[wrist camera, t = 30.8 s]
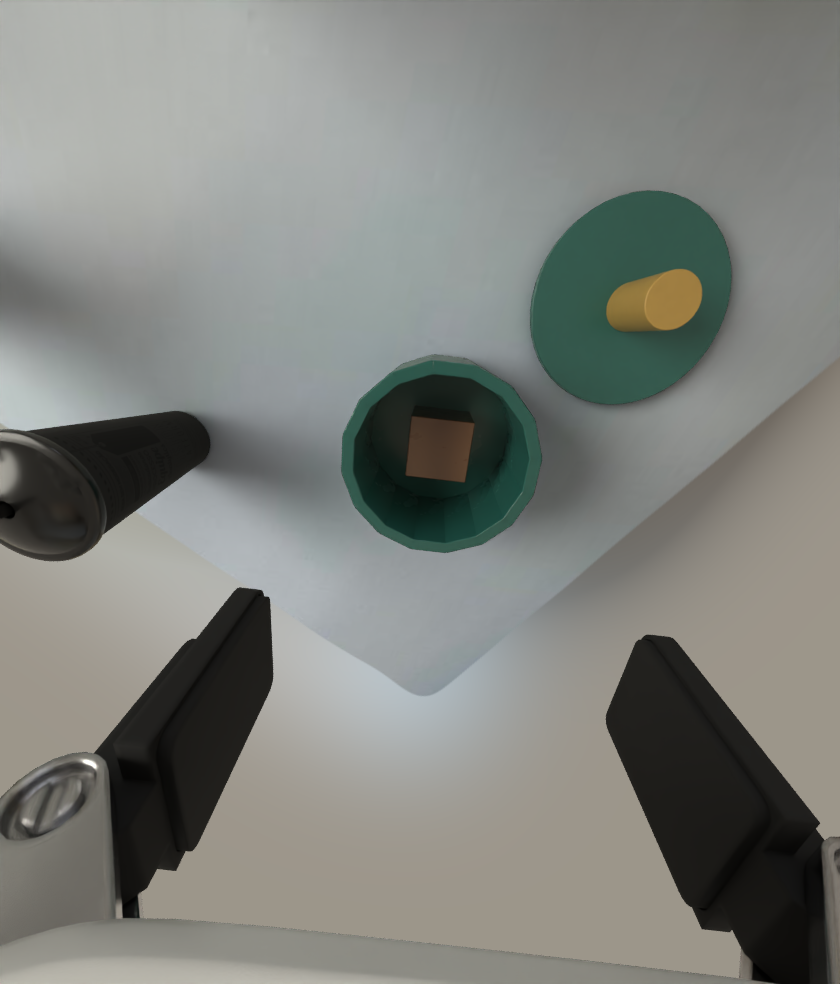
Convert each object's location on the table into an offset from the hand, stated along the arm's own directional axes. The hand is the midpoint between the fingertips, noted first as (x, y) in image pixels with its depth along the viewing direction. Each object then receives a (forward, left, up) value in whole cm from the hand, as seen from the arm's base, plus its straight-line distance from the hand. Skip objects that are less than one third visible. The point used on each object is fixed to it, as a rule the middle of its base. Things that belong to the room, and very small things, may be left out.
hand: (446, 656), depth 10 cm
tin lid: (+12, +11, -24) cm, 29 cm away
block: (0, 0, -24) cm, 24 cm away
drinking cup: (-22, -3, -24) cm, 33 cm away
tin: (0, 0, -24) cm, 24 cm away
